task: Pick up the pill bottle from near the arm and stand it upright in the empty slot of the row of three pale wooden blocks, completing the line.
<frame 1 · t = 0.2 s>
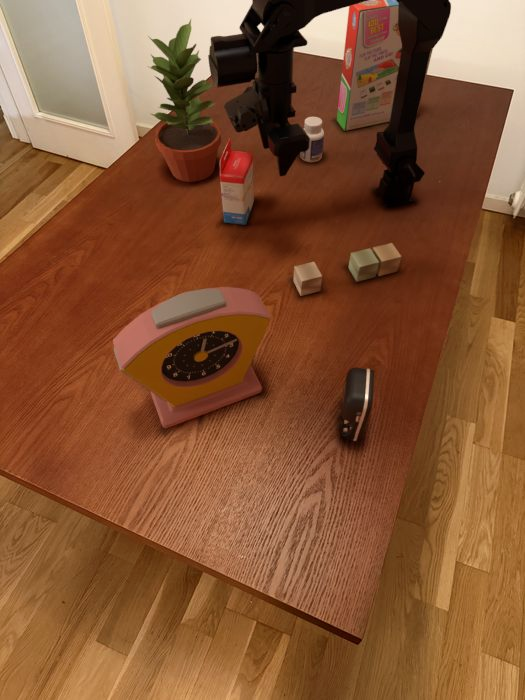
hand: (274, 161, 94), 15 cm above the table, tool pointing down, fingers open, 9 cm apart
block line: (334, 279, 96), on the table
potted plant: (193, 170, 117), on the table
ink box: (239, 212, 108), on the table
battery charger: (349, 422, 78), on the table
pill bottle: (310, 157, 120), on the table
game box: (376, 119, 129), on the table
toy desk clock: (204, 389, 82), on the table
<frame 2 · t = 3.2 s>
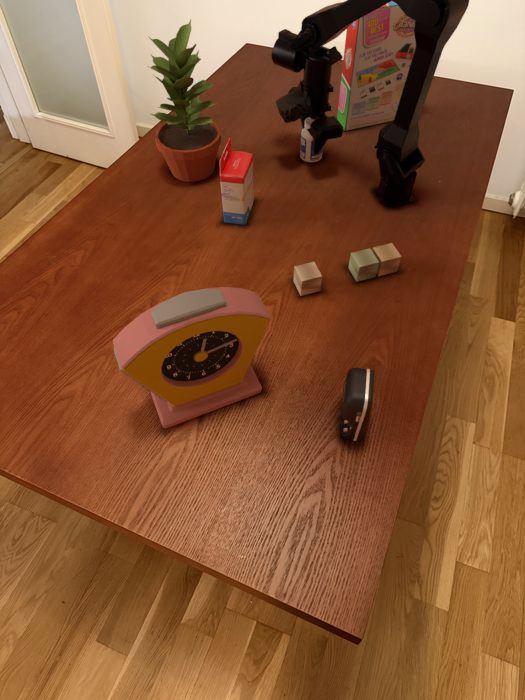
hand: (311, 146, 118), 3 cm above the table, tool pointing down, fingers closed on pill bottle, 5 cm apart
pill bottle: (310, 157, 120), on the table, touching gripper
everything else where it was.
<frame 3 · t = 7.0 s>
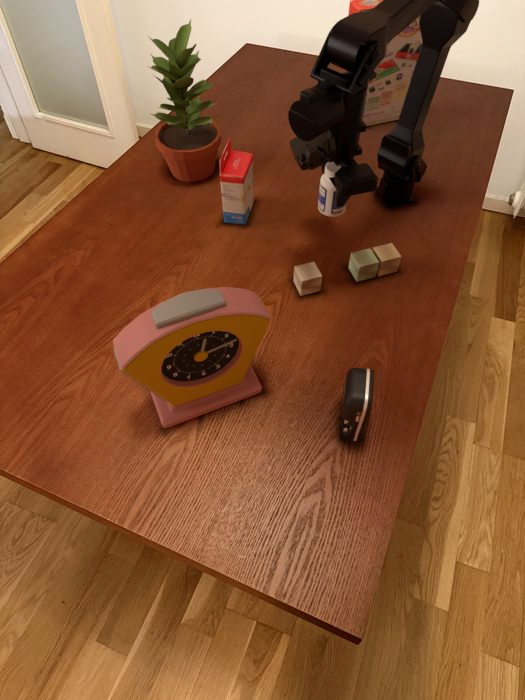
hand: (333, 197, 91), 12 cm above the table, tool pointing down, fingers closed on pill bottle, 5 cm apart
pill bottle: (331, 209, 94), point 9 cm above the table, touching gripper
everything else where it was.
when the fingers open (2 cm above the table, at t = 10.9 s): pill bottle stays where it is, on the table.
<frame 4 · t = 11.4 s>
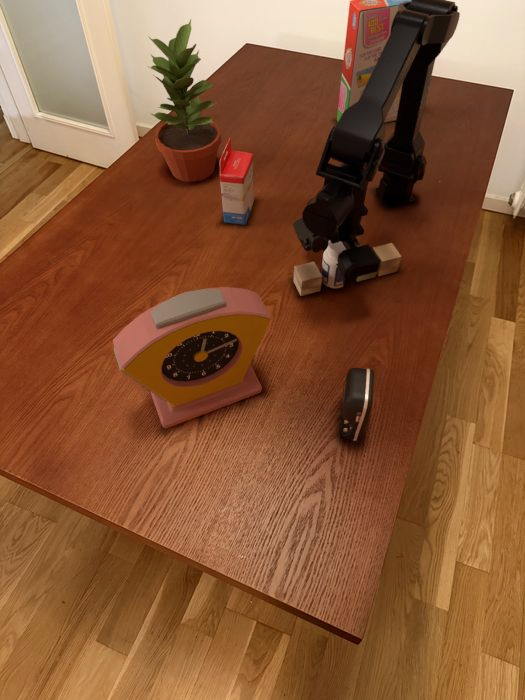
hand: (336, 268, 94), 3 cm above the table, tool pointing down, fingers open, 9 cm apart
pill bottle: (334, 279, 96), on the table
everything else where it was.
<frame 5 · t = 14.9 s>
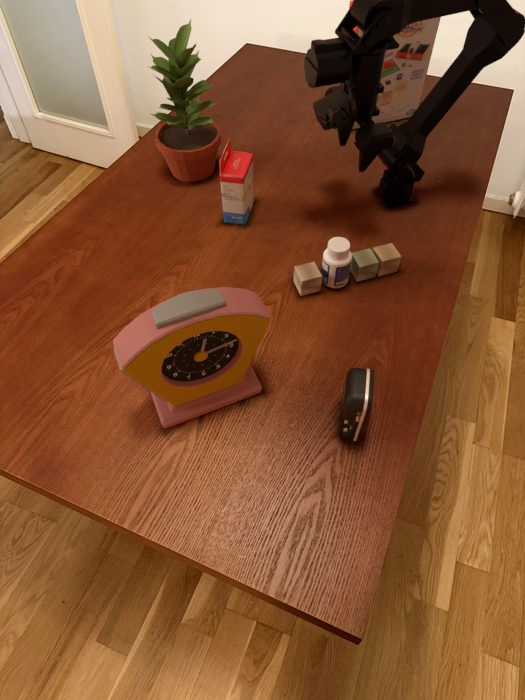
hand: (351, 158, 99), 12 cm above the table, tool pointing down, fingers open, 9 cm apart
nothing on the table moved.
at the end: pill bottle 0.1 cm off-centre on the block line, point 0.0 cm above the block line's base; pill bottle tilted 0°; the gripper is holding nothing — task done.
